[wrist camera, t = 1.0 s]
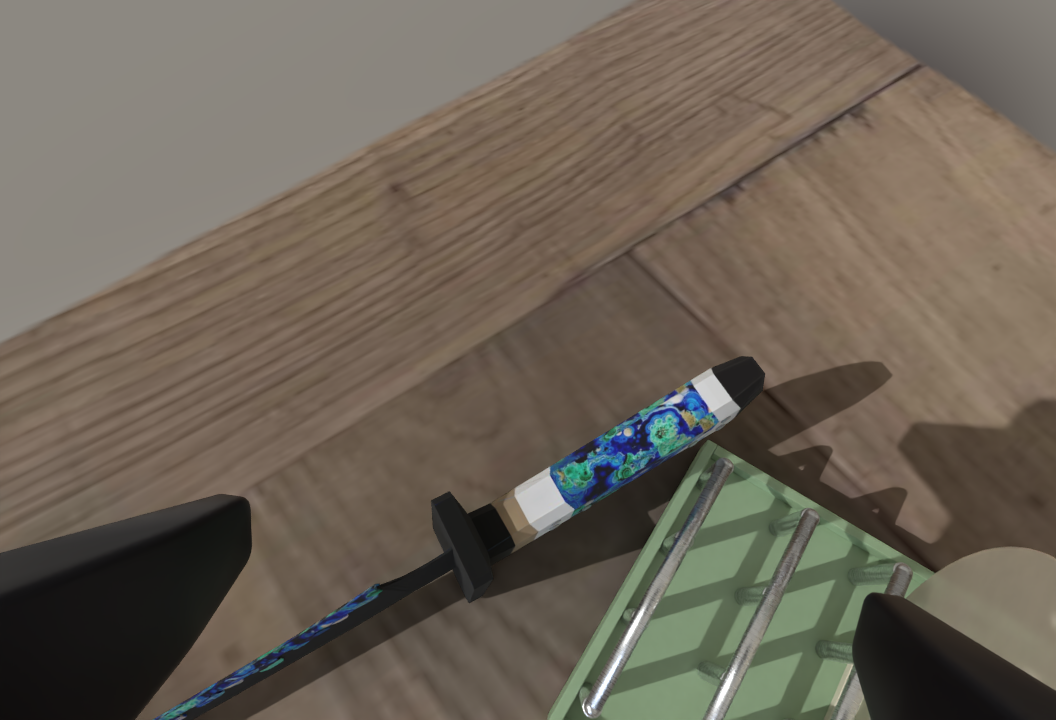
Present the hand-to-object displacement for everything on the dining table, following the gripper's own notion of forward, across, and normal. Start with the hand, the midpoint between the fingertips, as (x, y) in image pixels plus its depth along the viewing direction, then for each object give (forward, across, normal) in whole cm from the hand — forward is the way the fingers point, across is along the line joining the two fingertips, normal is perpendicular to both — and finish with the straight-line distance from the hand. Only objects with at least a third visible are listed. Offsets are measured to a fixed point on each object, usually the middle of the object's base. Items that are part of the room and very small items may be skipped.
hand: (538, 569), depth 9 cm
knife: (+11, +6, +10) cm, 16 cm away
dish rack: (+11, -7, +10) cm, 16 cm away
